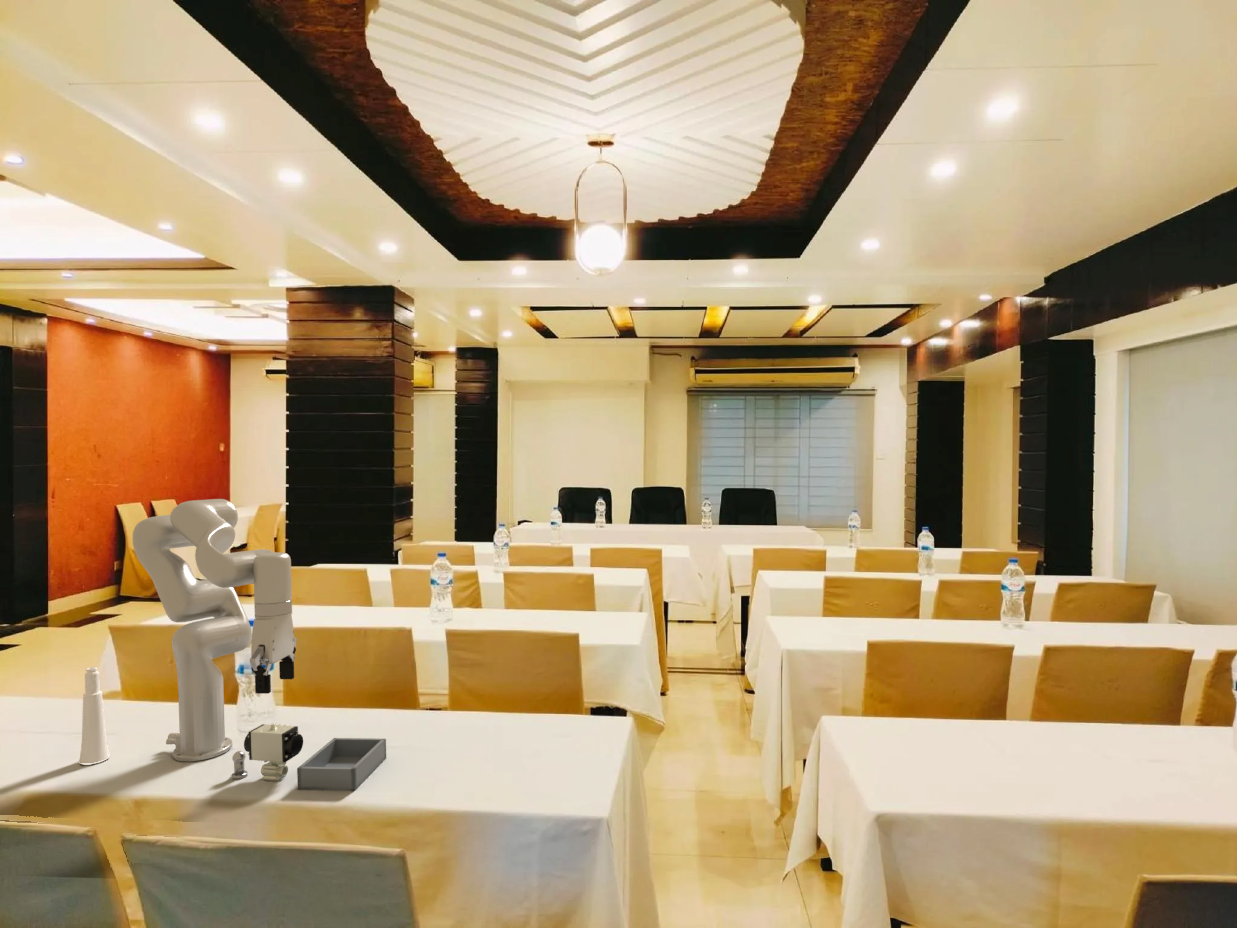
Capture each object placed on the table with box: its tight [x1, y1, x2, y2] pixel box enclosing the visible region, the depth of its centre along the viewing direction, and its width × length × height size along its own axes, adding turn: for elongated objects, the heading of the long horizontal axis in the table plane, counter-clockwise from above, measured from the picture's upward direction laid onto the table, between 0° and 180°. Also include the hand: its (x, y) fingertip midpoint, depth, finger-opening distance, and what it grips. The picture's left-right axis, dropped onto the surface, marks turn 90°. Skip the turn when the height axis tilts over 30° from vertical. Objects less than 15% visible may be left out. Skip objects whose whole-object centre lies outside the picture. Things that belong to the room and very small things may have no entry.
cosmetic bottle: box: [78, 666, 111, 763], centre depth 174 cm, size 6×6×22 cm
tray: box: [296, 737, 387, 792], centre depth 164 cm, size 13×17×5 cm
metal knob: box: [230, 750, 249, 781], centre depth 163 cm, size 3×3×6 cm
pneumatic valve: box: [243, 723, 304, 782], centre depth 163 cm, size 6×12×12 cm, turn 78°
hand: (275, 685), depth 163 cm, fingers open, 9 cm apart
